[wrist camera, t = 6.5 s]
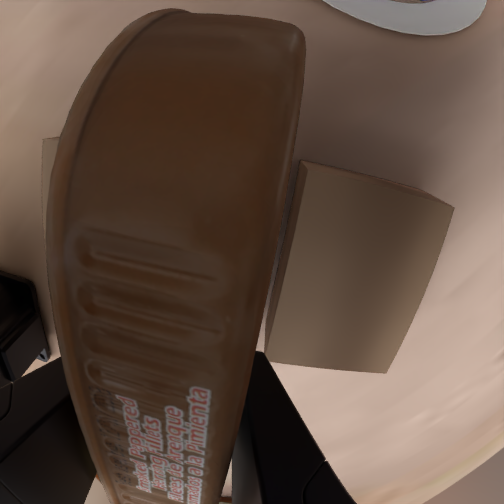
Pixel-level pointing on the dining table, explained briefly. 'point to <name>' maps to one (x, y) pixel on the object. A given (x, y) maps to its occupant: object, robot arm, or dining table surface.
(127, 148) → the tin
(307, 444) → the robot arm
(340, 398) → the dining table surface
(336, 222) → the slotted rail
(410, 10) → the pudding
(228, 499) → the food container
